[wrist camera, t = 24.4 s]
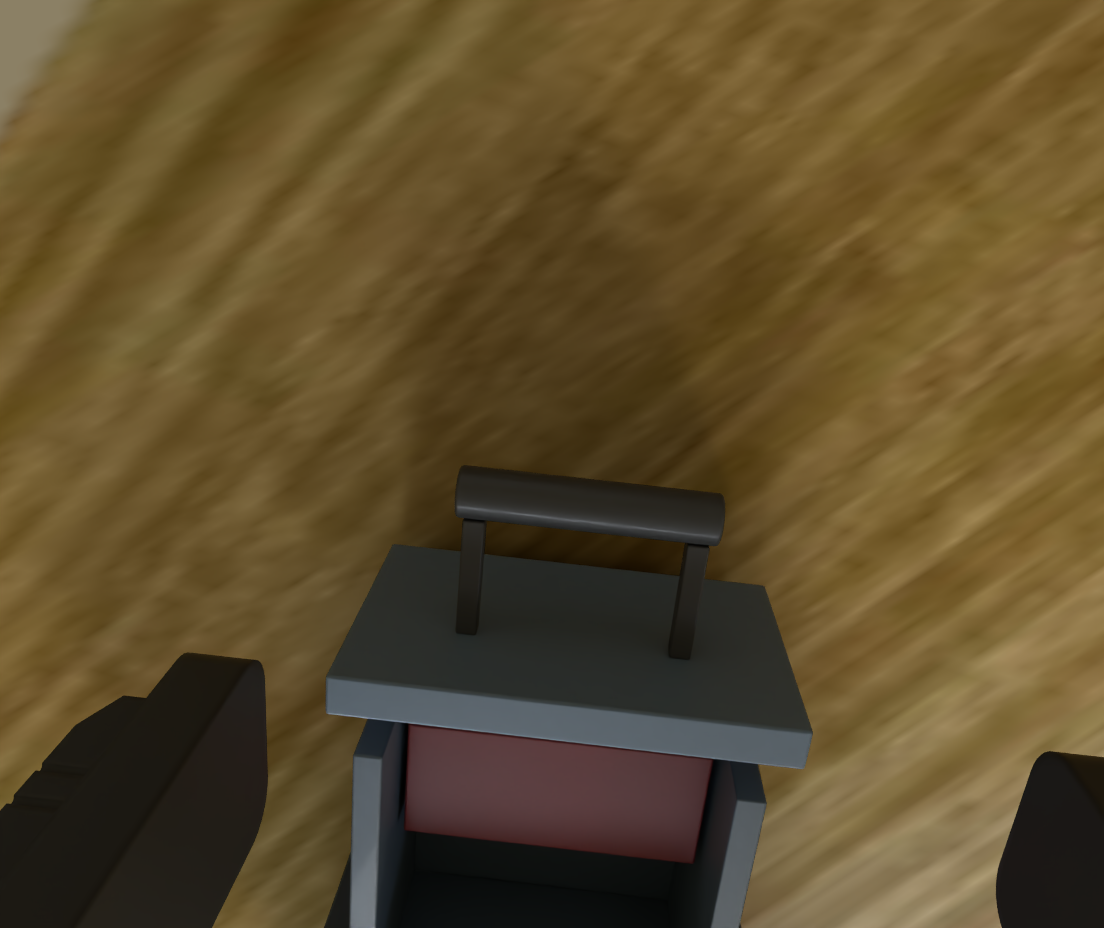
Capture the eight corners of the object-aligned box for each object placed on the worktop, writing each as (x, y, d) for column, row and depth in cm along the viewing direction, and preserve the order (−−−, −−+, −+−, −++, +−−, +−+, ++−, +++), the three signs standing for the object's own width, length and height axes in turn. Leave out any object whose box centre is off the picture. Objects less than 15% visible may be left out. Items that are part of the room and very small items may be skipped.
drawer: (397, 402, 29) (326, 498, 22) (793, 445, 29) (855, 557, 21) (380, 858, 35) (321, 1050, 28) (702, 897, 35) (726, 1101, 28)
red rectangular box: (426, 748, 32) (402, 831, 28) (432, 650, 31) (407, 724, 27) (684, 778, 32) (694, 865, 28) (701, 680, 31) (714, 758, 27)
